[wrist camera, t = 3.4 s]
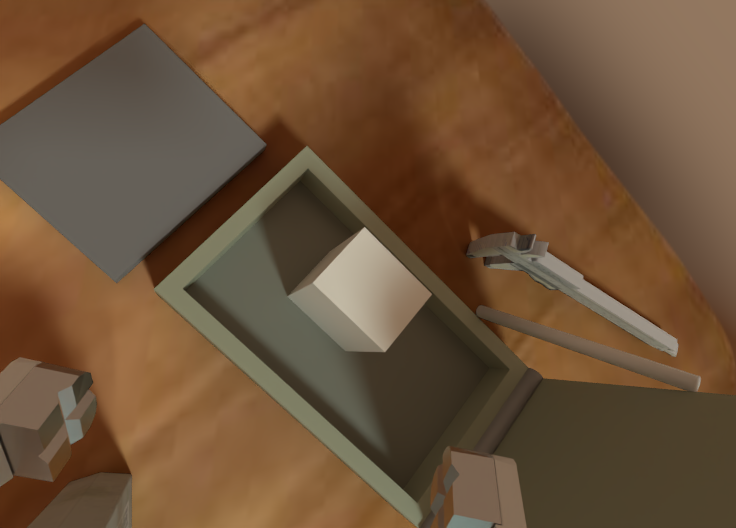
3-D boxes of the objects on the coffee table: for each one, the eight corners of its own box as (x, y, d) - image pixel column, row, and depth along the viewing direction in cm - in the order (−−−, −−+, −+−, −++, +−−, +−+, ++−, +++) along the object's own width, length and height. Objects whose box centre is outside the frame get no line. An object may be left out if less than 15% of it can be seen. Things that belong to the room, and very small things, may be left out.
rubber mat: (116, 283, 29) (114, 280, 28) (-27, 155, 27) (-34, 148, 27) (264, 150, 33) (266, 144, 32) (146, 33, 31) (144, 23, 31)
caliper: (461, 257, 37) (512, 239, 31) (465, 243, 37) (516, 223, 31) (671, 357, 42) (749, 358, 36) (673, 344, 42) (751, 343, 36)
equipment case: (421, 532, 32) (777, 821, 13) (157, 294, 29) (87, 188, 10) (526, 376, 36) (916, 409, 17) (305, 154, 34) (464, -115, 14)
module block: (345, 351, 32) (385, 352, 25) (287, 296, 31) (312, 282, 25) (386, 302, 33) (433, 292, 27) (331, 249, 33) (366, 224, 26)
